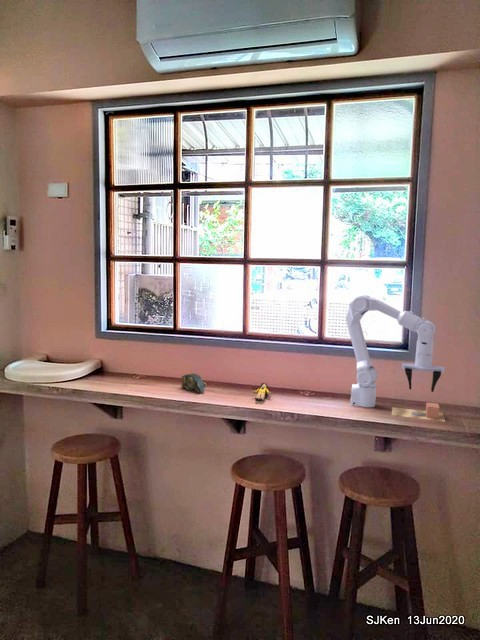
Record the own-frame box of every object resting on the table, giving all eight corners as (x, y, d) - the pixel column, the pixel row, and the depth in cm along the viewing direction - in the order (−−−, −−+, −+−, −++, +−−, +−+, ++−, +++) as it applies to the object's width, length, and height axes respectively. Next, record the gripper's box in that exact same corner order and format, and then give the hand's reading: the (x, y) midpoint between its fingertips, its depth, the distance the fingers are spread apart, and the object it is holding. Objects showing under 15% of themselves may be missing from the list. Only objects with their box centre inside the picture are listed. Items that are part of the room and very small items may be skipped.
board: (391, 418, 171) (391, 414, 171) (392, 410, 182) (392, 407, 181) (445, 424, 165) (445, 421, 165) (442, 416, 176) (442, 412, 176)
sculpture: (209, 392, 199) (209, 376, 199) (196, 394, 196) (196, 378, 195) (192, 386, 210) (193, 371, 209) (180, 388, 206) (180, 372, 205)
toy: (249, 396, 186) (255, 380, 200) (249, 406, 187) (255, 390, 202) (268, 398, 185) (273, 382, 199) (268, 408, 186) (273, 391, 200)
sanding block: (426, 417, 169) (427, 406, 169) (425, 412, 175) (426, 402, 175) (438, 418, 168) (439, 407, 168) (437, 414, 174) (438, 403, 173)
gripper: (403, 353, 171) (400, 390, 173) (446, 357, 166) (443, 394, 168) (403, 350, 178) (400, 385, 179) (444, 354, 173) (441, 390, 174)
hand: (421, 389), depth 174 cm, fingers open, 7 cm apart
